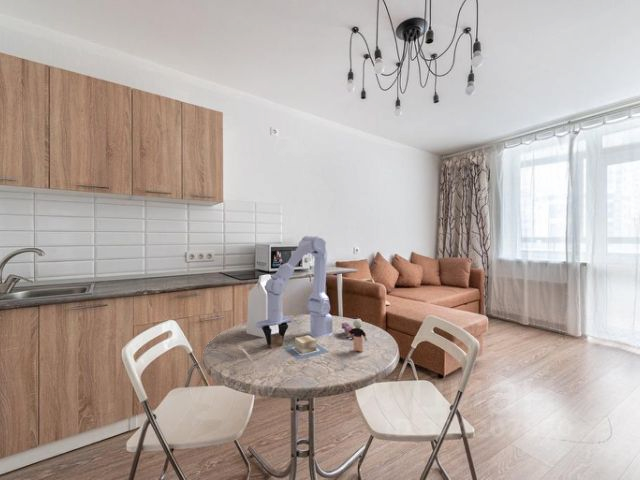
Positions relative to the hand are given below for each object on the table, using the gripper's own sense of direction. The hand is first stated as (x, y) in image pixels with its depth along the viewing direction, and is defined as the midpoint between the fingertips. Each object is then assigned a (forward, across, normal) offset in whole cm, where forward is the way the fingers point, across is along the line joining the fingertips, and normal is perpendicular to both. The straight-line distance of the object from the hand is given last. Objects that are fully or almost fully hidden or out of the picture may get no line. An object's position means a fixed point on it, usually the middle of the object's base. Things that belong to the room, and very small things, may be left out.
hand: (274, 343), depth 115 cm
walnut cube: (+1, 0, 0) cm, 1 cm away
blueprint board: (+1, +8, -10) cm, 13 cm away
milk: (+2, +3, +19) cm, 19 cm away
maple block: (+1, +8, -10) cm, 13 cm away
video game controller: (+2, +33, -5) cm, 33 cm away
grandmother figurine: (+2, +25, -21) cm, 33 cm away
